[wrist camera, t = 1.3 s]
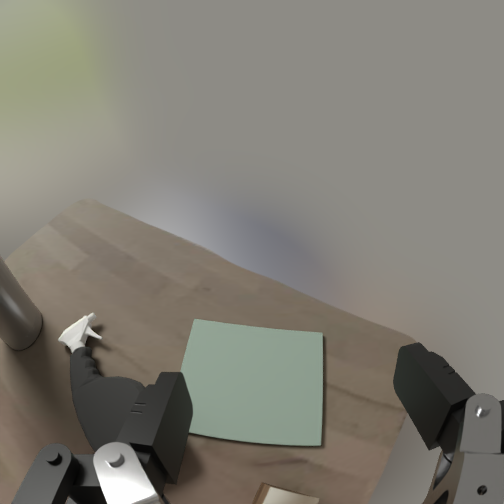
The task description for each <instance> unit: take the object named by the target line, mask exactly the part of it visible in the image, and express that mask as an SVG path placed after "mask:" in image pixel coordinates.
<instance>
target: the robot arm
mask: <svg viewBox="0 0 504 504" xmlns="http://www.w3.org/2000/svg"><path fill="white" fill-rule="evenodd" d="M41 326H42V316H41V313H40V311H39V310H38V308H37V307H36V306H35V305H34V303H33V302H32V301H31V299H30V298H29V297H28V295H27V294H26V293H25V291H24V290H23V288H22V287H21V286H20V284H19V283H18V281H17V280H16V279H15V277H14V276H13V274H12V273H11V271H10V270H9V268H8V267H7V265H6V264H5V262H4V261H3V259H2V257H1V256H0V338H1V339H2V340H3V341H4V342H5V343H6V344H8V345H9V346H10V347H11V348H12V349H14V350H23V349H25V348H27V347H29V346H30V345H31V344H32V343H33V342H34V341H35V340H36V338H37V336H38V335H39V332H40V330H41ZM393 384H394V389H395V392H396V394H397V396H398V397H399V399H400V401H401V402H402V404H403V406H404V407H405V409H406V411H407V413H408V414H409V416H410V418H411V419H412V421H413V423H414V425H415V426H416V428H417V430H418V432H419V433H420V435H421V437H422V439H423V441H424V442H425V444H426V446H427V448H428V450H432V449H434V448H436V447H439V446H440V447H441V449H442V451H441V453H440V456H439V459H438V463H437V466H436V470H435V473H434V476H433V479H432V483H431V486H430V489H429V491H428V494H427V496H426V498H425V500H424V502H423V503H422V504H503V502H504V400H502V401H498V400H497V399H496V398H495V397H494V396H492V395H489V394H483V393H482V394H475V392H473V390H472V389H471V388H470V387H469V386H468V385H467V384H466V382H465V381H464V380H463V379H462V378H461V377H460V376H459V375H458V373H455V370H454V369H453V368H452V367H451V366H449V364H448V363H447V362H446V360H445V359H444V358H443V357H441V356H439V355H437V354H436V353H434V352H428V350H427V349H426V348H425V347H424V346H423V345H422V344H421V343H419V342H418V343H414V344H410V345H406V346H402V347H401V348H400V349H399V353H398V358H397V364H396V369H395V374H394V379H393ZM192 417H193V405H192V400H191V397H190V394H189V391H188V388H187V385H186V381H185V378H184V375H183V373H182V372H161V373H160V375H159V377H158V379H157V381H156V383H155V385H148V386H147V387H146V388H144V389H143V390H142V391H141V392H140V393H139V395H138V397H137V399H136V401H135V405H133V407H132V409H131V413H129V415H128V417H127V419H126V421H125V423H124V425H123V427H122V429H121V431H120V433H119V435H118V437H117V439H116V441H115V442H113V443H108V444H105V445H103V446H102V447H100V448H99V449H98V450H97V451H96V453H95V454H81V455H73V454H72V453H71V451H70V450H69V449H68V448H67V447H66V446H65V445H63V444H59V443H53V444H49V445H47V446H45V447H44V448H42V449H41V450H40V452H39V453H38V455H37V457H36V459H35V460H34V462H33V464H32V466H31V467H30V469H29V471H28V473H27V475H26V476H25V478H24V480H23V482H22V484H21V486H20V488H19V490H18V491H17V493H16V495H15V497H14V499H13V501H12V503H11V504H65V502H66V500H67V497H69V498H68V500H67V503H66V504H171V503H170V502H169V500H168V498H167V497H166V495H165V494H164V492H163V490H164V486H165V483H168V484H176V483H177V479H178V475H179V471H180V466H181V462H182V458H183V454H184V450H185V446H186V442H187V438H188V433H189V429H190V425H191V421H192Z"/></svg>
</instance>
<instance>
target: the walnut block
mask: <svg viewBox="0 0 504 504" xmlns="http://www.w3.org/2000/svg"><path fill="white" fill-rule="evenodd" d="M318 501H319V498H316V497H312V496H308V495H305V494H301V493H298V492H295V491H291V490H287V489H283V488H279V487H276V486H272V485H269V484H265V483H261V485H260V488H259V490H258V492H257V494H256V496H255V498H254V500H253V502H252V504H317V503H318Z"/></svg>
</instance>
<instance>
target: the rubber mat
mask: <svg viewBox="0 0 504 504" xmlns="http://www.w3.org/2000/svg"><path fill="white" fill-rule="evenodd" d="M180 372H182V373H183V375H184V378H185V381H186V385H187V388H188V391H189V394H190V397H191V400H192V405H193V417H192V421H191V425H190V429H189V433H193V434H198V435H203V436H209V437H215V438H221V439H227V440H234V441H242V442H251V443H261V444H273V445H292V446H321V432H322V403H323V337H322V333H318V332H304V331H292V330H281V329H271V328H261V327H252V326H244V325H236V324H228V323H221V322H213V321H207V320H200V319H194V322H193V326H192V330H191V333H190V337H189V341H188V344H187V348H186V352H185V356H184V360H183V364H182V367H181V371H180Z"/></svg>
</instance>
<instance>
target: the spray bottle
mask: <svg viewBox="0 0 504 504" xmlns="http://www.w3.org/2000/svg"><path fill="white" fill-rule="evenodd" d="M96 318H97V317H96V316H95V314H94V313H91V314H90V315H88V316H84V317H83V318H82V319H80V320H79V321H77V322H76V323H74V324H73V325H71V326H70V327H69V328H67V329H66V330H64V332H63V333H62V335H61V336H60V338H59V339H58V341H59V342H60V343H61V344H63V345H67V346H68V347H69V348H70V349H71V351H72V355H71V356H70V378H71V389H72V397H73V403H74V407H75V410H76V413H77V416H78V420H79V422H80V424H81V426H82V429H83V431H84V433H85V436H86V438H87V440H88V442H89V443H90V445H91V447H92V448H93V450H94V451H95V453H96V451H97V450H98V449H99V448H100V447H102V446H103V445H105V444H108V443H113V442H115V441H116V439H117V437H118V435H119V433H120V431H121V429H122V427H123V425H124V423H125V421H126V419H127V417H128V415H129V413H131V409H132V407H133V405H135V401H136V399H137V397H138V395H139V393H140V392H141V391H142V390H143V389H144V388H145V387H144V386H143V385H142V383H140V382H137V381H135V380H132V379H129V378H124V377H119V376H118V377H102V376H101V375H100V374H99V371H98V370H97V369H96V366H95V361H94V360H93V359H92V358H91V354H92V350H91V348H90V347H85V343H86V340H87V336H92V337H94V338H97V339H100V340H102V339H103V338H102V337H101V336H99V335H97V334H96V333H95V332H94V331H92V330H91V327H92V326H91V322H92V321H93V320H94V319H96Z"/></svg>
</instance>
